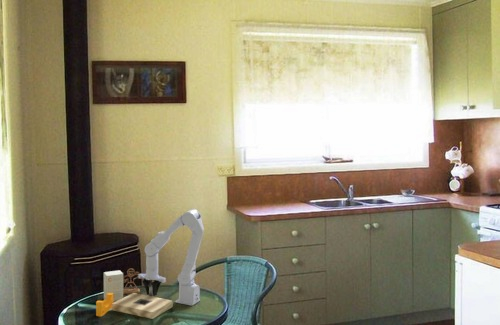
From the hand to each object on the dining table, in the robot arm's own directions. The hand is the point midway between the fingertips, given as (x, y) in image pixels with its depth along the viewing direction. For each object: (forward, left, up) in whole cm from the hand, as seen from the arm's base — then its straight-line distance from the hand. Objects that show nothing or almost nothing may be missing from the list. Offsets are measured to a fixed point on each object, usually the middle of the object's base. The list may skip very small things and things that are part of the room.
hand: (151, 294), depth 247 cm
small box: (+15, +10, -2) cm, 18 cm away
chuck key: (0, 0, -2) cm, 2 cm away
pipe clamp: (+10, +24, -2) cm, 26 cm away
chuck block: (-4, +13, -2) cm, 14 cm away
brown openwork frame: (+14, -2, -2) cm, 14 cm away
